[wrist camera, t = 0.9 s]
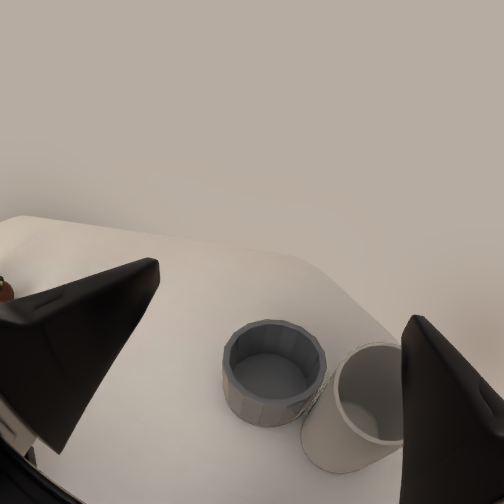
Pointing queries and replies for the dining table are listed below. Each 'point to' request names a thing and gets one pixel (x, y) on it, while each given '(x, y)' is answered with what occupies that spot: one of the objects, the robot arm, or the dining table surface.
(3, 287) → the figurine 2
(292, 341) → the pen tin
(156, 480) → the dining table surface
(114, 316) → the robot arm
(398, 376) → the cup
